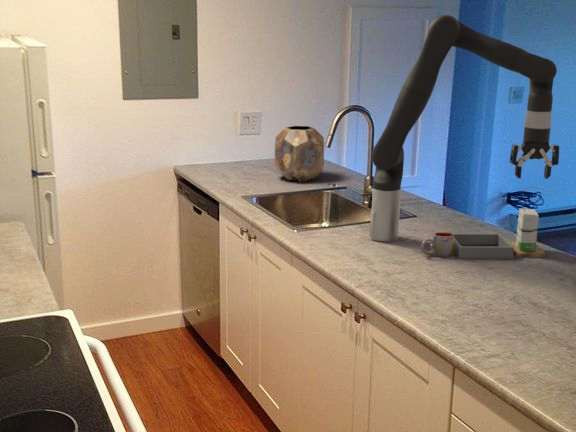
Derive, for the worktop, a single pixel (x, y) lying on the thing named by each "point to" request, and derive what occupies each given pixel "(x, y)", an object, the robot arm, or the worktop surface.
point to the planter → (299, 153)
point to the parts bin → (482, 252)
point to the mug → (440, 245)
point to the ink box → (527, 229)
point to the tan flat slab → (527, 252)
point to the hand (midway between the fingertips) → (532, 178)
